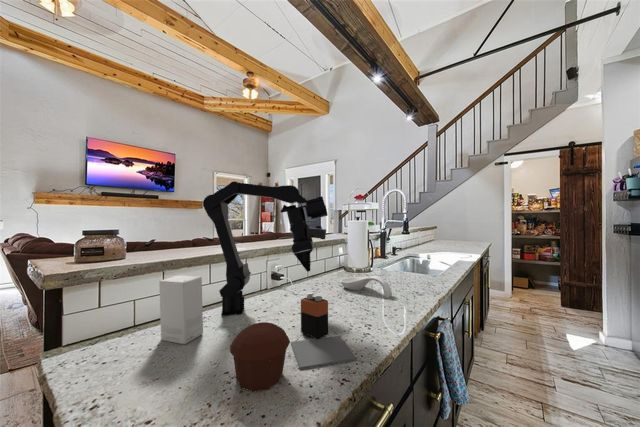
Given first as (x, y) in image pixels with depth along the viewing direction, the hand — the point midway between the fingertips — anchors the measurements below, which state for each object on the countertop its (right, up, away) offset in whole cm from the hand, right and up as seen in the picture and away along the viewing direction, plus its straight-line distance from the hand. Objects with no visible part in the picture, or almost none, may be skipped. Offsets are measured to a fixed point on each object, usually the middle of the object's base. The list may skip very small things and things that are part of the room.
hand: (309, 268), depth 85 cm
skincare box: (-33, -14, -19) cm, 40 cm away
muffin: (-8, -15, -34) cm, 38 cm away
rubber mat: (+4, -14, -25) cm, 29 cm away
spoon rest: (+23, -15, +24) cm, 36 cm away
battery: (+2, -14, -17) cm, 22 cm away
